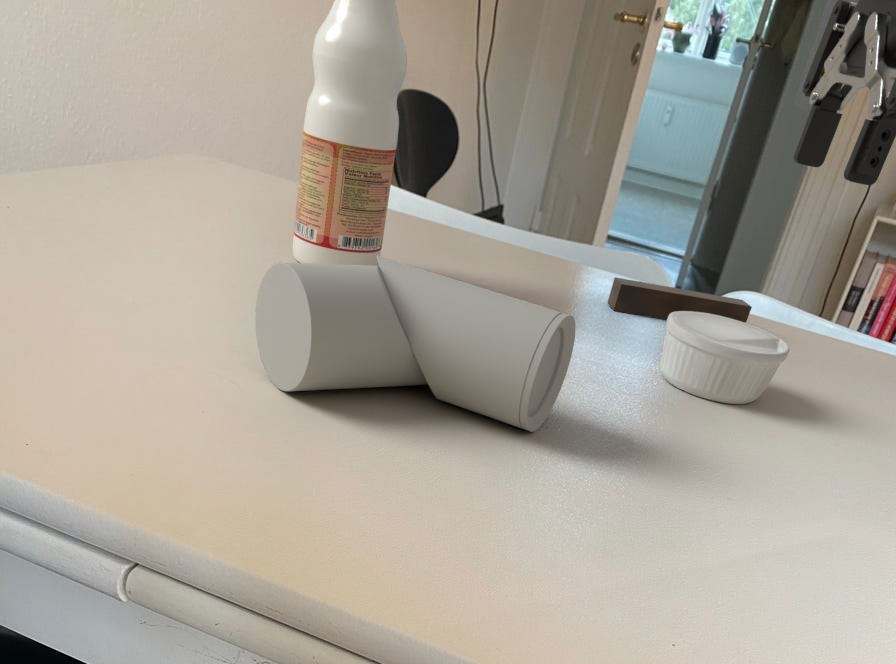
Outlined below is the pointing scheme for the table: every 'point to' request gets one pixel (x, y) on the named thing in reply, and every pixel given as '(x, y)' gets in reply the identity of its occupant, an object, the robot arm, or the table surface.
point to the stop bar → (671, 301)
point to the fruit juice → (350, 134)
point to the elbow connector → (412, 337)
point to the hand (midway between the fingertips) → (830, 173)
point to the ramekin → (719, 357)
